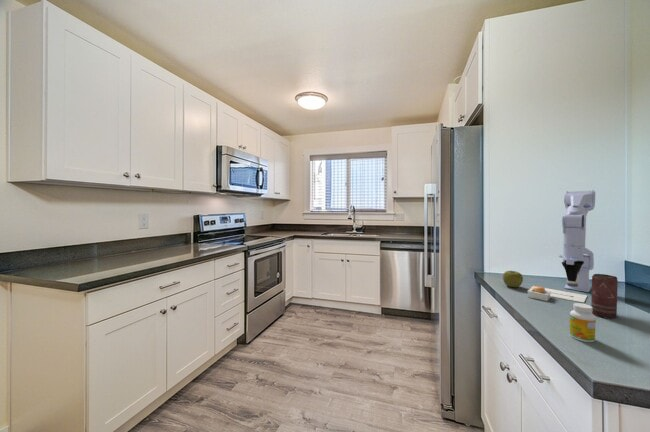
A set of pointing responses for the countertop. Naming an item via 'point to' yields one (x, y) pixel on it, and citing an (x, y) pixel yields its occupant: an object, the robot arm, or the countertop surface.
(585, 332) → the supplement bottle
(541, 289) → the button
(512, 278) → the apple
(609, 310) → the can
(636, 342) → the countertop surface
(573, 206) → the robot arm
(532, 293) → the button housing
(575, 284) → the marker
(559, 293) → the paper
